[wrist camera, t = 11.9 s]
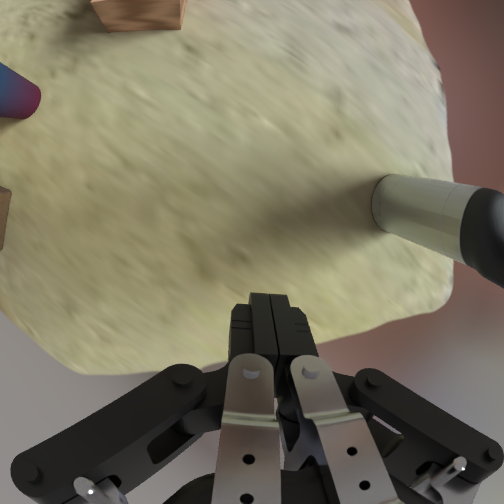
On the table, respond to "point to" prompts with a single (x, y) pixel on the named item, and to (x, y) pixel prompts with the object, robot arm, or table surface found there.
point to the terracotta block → (140, 14)
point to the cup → (17, 95)
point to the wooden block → (3, 212)
